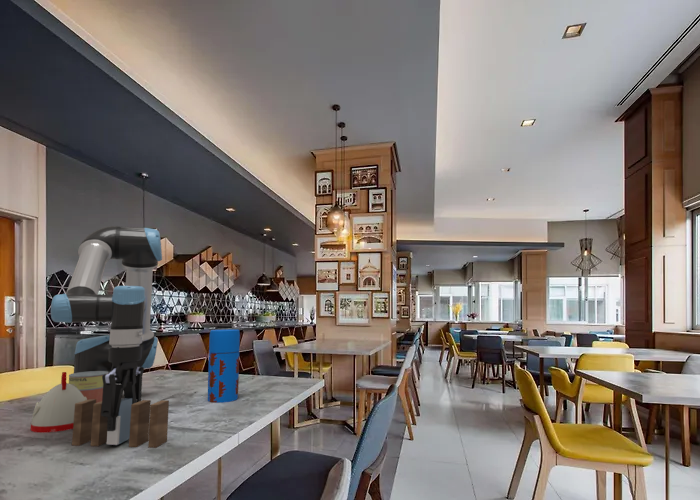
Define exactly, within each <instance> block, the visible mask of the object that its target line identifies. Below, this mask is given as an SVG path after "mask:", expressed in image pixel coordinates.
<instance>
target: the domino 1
mask: <svg viewBox="0 0 700 500" xmlns="http://www.w3.org/2000/svg"><path fill="white" fill-rule="evenodd" d="M95 403H96V399H88V400H85V401H82V402H79V403H75V410H74V423H73V429H72V437H71V438H72V439H71V446H75V447H77V446H78V447H80V446H82V445H84V444H86V443H88V442H89V443H90V442H91V433H92V419H93V405H94V404H95Z"/></svg>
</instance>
